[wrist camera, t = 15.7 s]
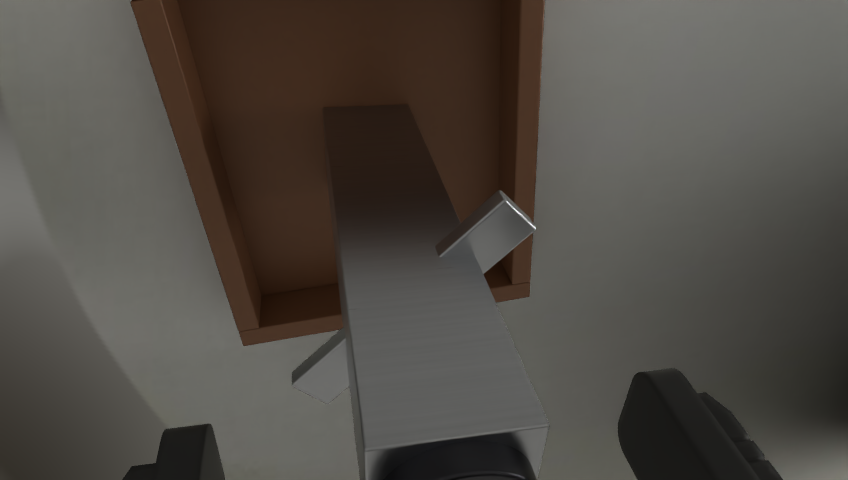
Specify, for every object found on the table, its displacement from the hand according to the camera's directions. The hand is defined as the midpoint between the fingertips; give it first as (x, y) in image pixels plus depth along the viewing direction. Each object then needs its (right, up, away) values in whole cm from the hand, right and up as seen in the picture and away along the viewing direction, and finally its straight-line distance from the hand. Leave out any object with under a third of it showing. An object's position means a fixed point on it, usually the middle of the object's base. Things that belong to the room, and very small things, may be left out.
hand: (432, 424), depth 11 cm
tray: (-2, +7, +11) cm, 13 cm away
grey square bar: (-2, +7, +10) cm, 13 cm away
